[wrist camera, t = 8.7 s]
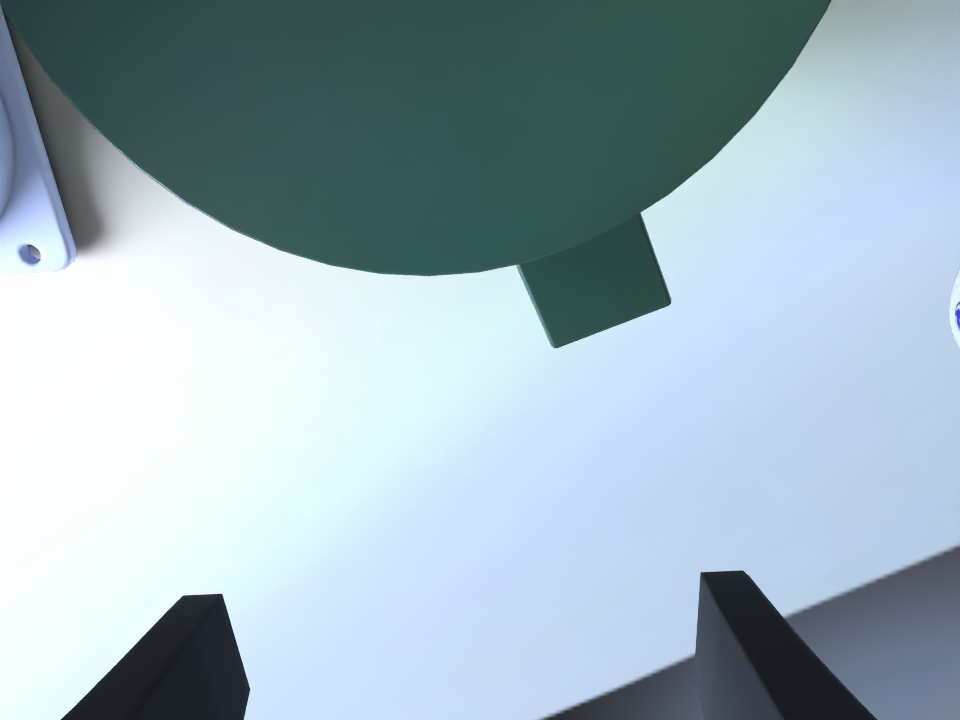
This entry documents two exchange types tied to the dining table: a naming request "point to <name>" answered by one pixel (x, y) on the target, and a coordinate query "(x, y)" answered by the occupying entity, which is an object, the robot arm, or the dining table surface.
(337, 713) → the dining table surface
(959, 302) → the energy drink
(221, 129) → the lid
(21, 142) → the robot arm
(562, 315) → the pot
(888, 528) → the dining table surface
